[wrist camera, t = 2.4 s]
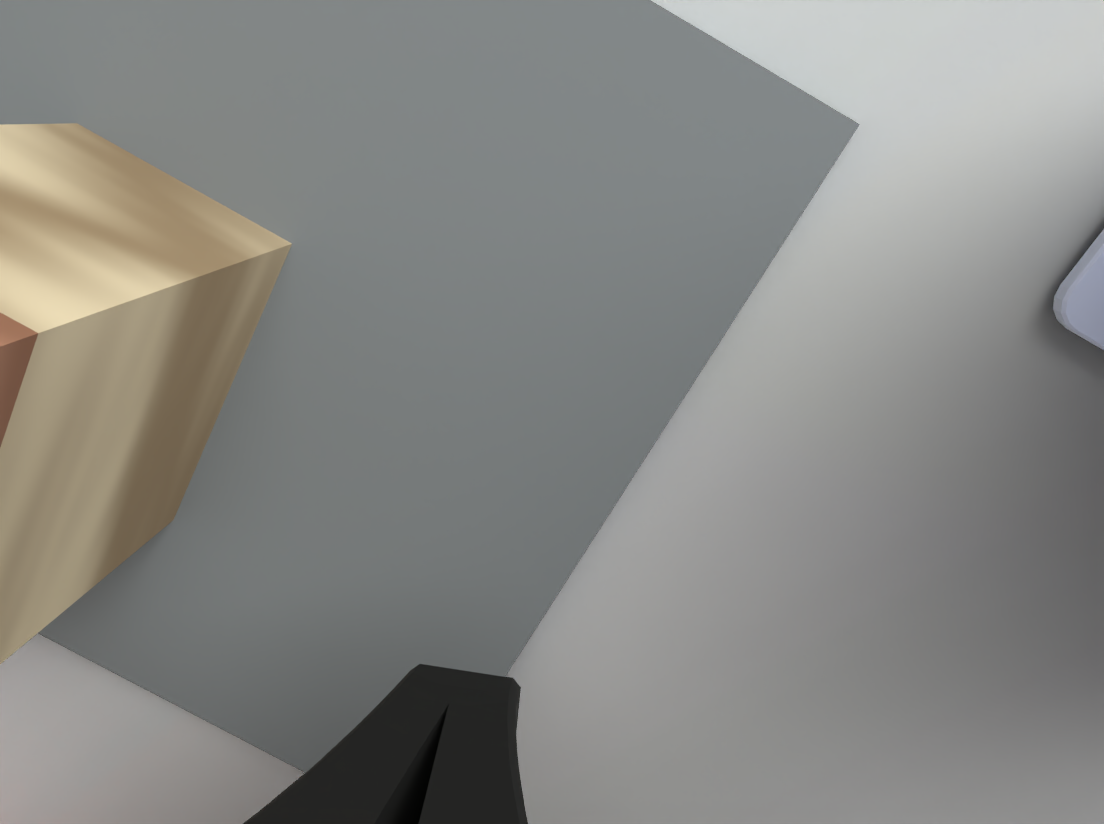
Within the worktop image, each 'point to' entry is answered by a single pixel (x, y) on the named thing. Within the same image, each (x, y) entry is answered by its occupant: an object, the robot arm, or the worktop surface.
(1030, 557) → the worktop surface
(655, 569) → the worktop surface
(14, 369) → the maple block
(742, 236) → the slate mat
